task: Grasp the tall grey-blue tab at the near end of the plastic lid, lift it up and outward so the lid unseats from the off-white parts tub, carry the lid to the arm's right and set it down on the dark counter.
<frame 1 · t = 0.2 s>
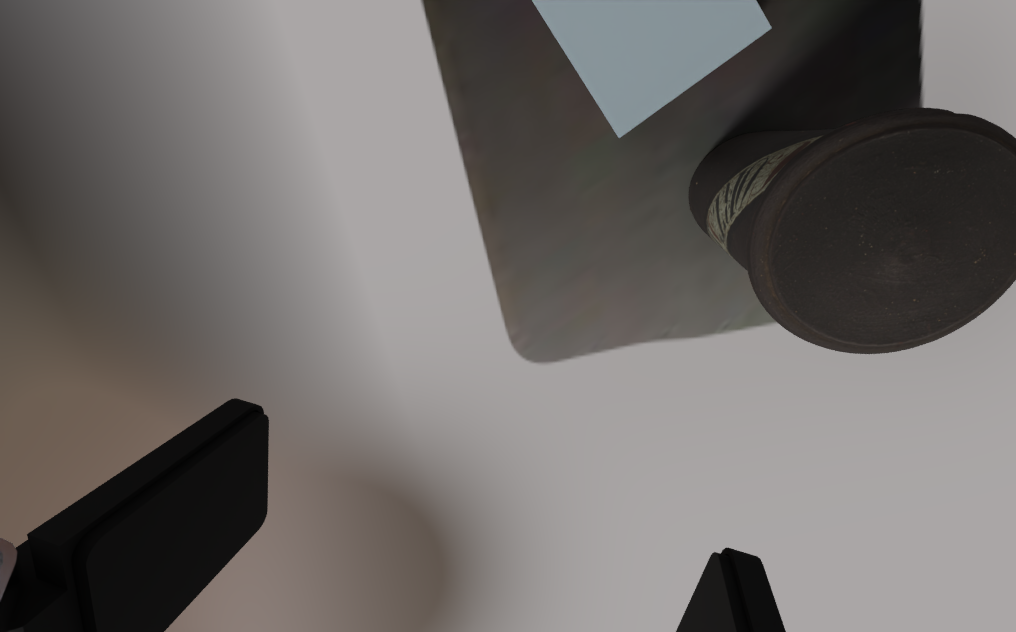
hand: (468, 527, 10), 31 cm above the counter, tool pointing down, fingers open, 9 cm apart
container: (752, 191, 35), on the counter
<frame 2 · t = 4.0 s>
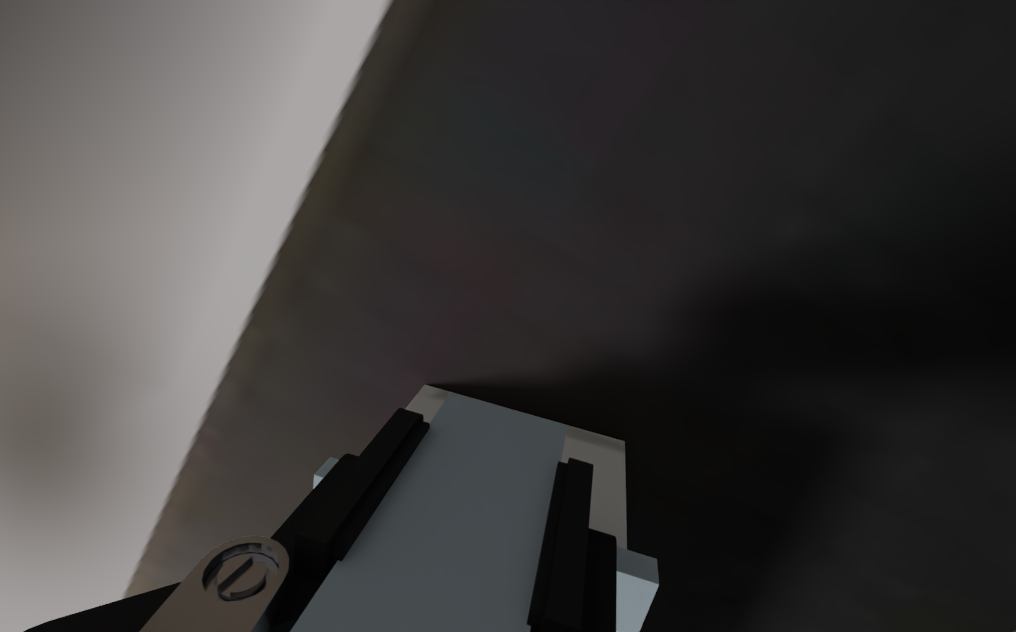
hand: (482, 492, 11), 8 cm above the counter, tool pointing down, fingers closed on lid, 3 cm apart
tub: (494, 529, 21), on the counter
when the fingers open (4 cm above the counter, at t = 10.4 s): lid drops 2 cm, point 1 cm above the counter.
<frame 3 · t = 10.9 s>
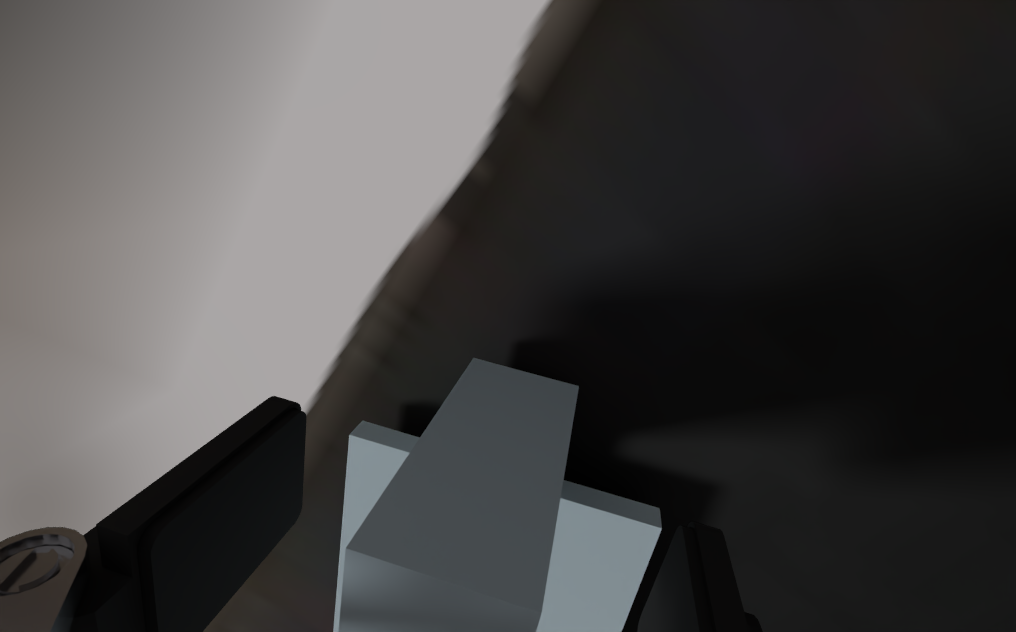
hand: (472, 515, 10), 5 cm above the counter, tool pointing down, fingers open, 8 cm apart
lid: (470, 616, 17), point 1 cm above the counter
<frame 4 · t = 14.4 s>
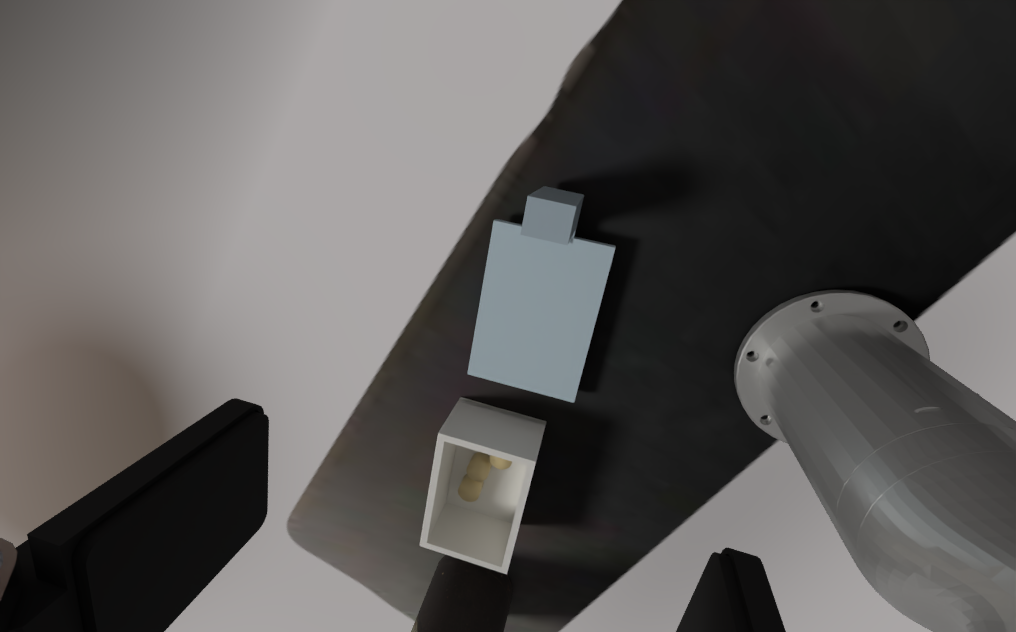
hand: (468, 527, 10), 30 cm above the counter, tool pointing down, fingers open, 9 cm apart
tub: (491, 463, 46), on the counter
container: (475, 579, 52), on the counter
lid: (537, 312, 40), point 1 cm above the counter
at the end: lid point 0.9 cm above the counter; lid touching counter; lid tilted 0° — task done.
